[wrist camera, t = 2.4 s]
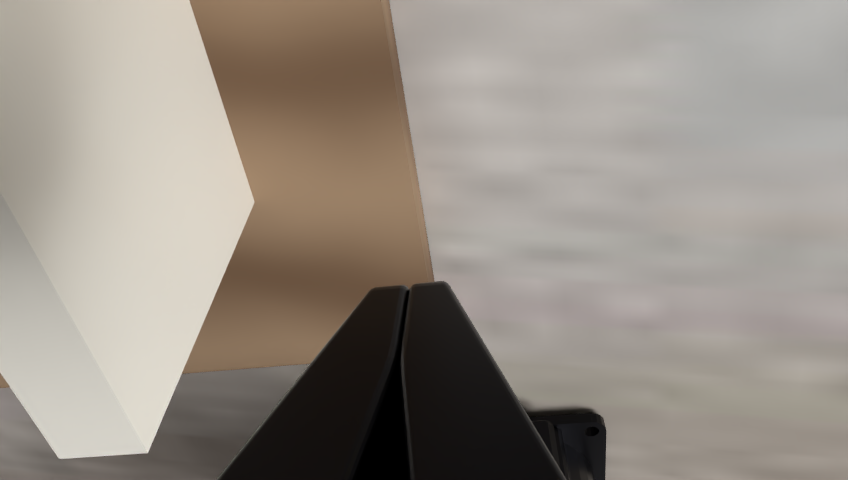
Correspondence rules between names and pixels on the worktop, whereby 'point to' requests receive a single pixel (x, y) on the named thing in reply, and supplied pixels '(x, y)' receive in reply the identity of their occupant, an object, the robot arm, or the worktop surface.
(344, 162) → the board
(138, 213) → the block
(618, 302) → the worktop surface
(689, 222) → the worktop surface
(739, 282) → the worktop surface
